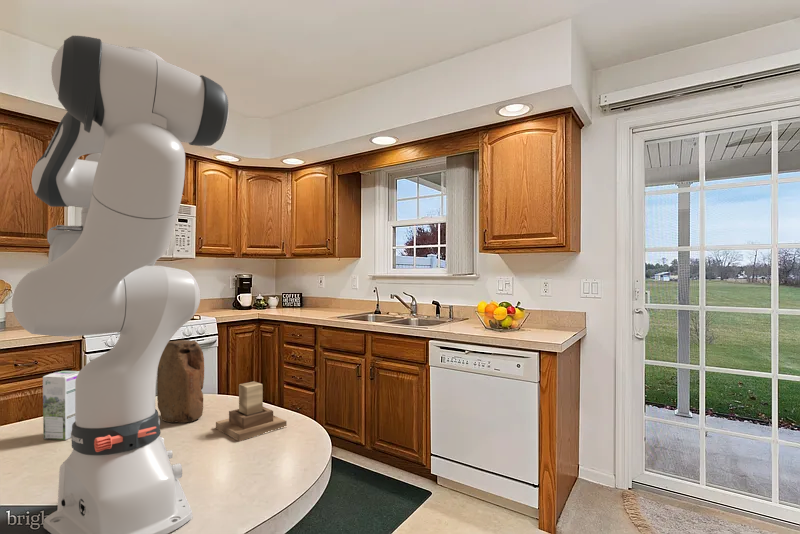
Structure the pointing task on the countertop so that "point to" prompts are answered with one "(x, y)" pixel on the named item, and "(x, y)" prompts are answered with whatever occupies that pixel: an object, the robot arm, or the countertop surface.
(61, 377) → the syrup box
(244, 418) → the brown wooden socket base
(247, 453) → the countertop surface
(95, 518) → the robot arm
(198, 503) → the countertop surface
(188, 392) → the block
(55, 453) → the countertop surface
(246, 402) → the peg
